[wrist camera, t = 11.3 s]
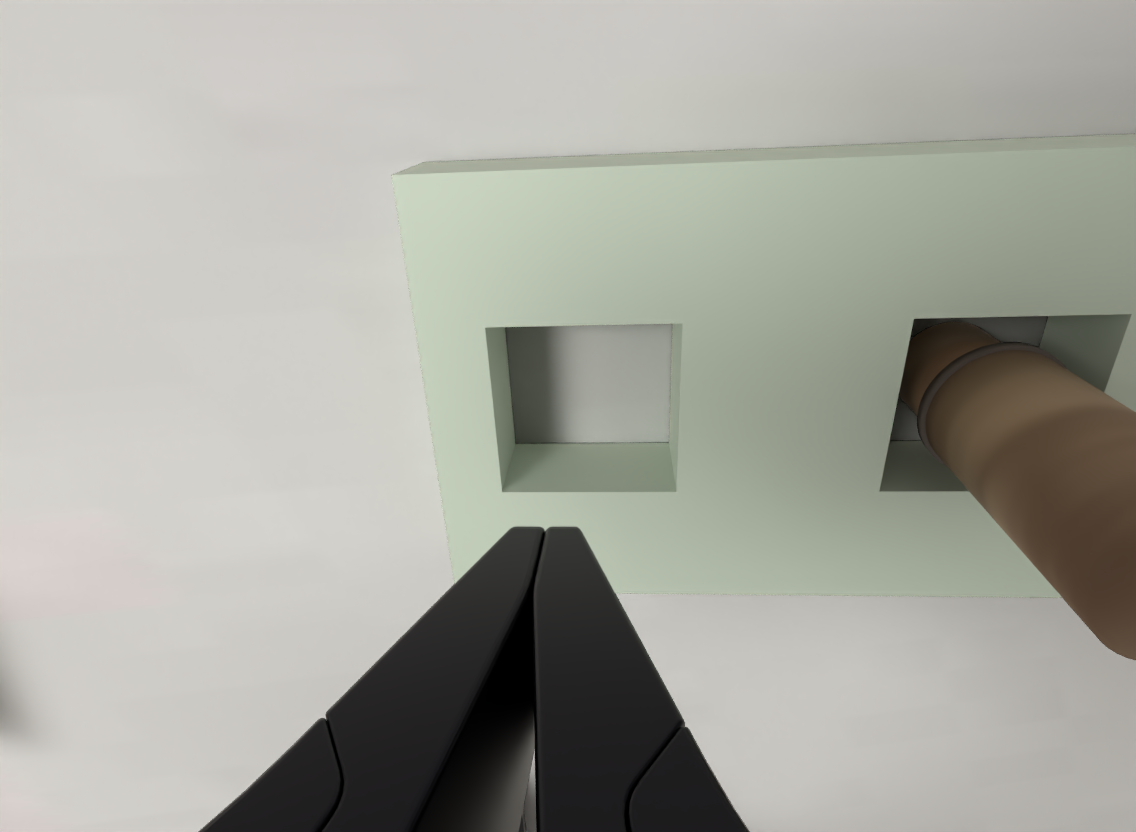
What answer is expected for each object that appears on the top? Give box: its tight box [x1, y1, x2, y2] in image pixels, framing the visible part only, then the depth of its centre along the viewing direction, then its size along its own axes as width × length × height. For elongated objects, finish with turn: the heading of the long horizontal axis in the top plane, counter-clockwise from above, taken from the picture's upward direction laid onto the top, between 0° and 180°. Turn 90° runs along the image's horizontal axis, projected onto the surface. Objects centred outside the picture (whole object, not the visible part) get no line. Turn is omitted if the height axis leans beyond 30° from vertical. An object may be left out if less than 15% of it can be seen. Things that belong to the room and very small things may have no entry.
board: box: [391, 134, 1136, 598], centre depth 19 cm, size 20×13×3 cm, turn 92°
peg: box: [899, 322, 1136, 660], centre depth 16 cm, size 4×4×10 cm
